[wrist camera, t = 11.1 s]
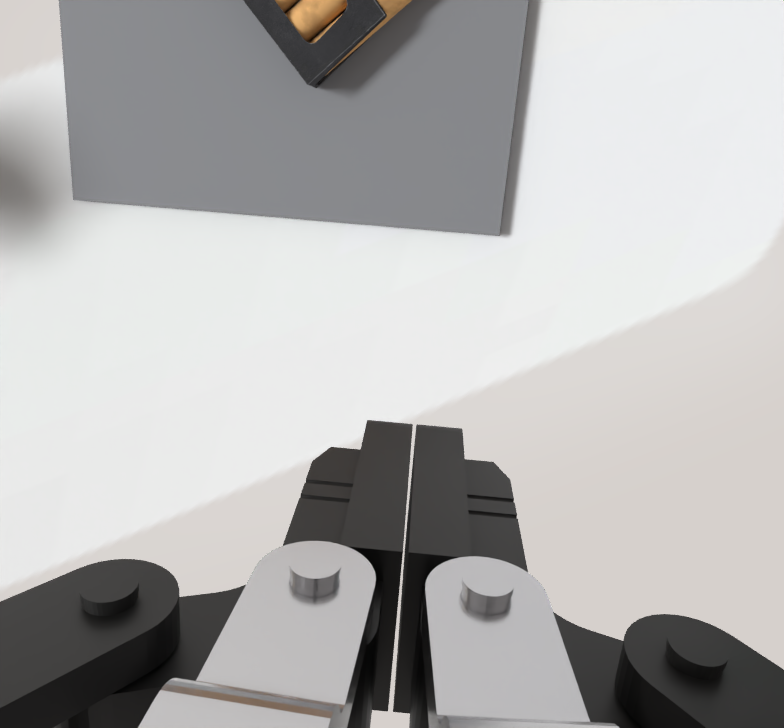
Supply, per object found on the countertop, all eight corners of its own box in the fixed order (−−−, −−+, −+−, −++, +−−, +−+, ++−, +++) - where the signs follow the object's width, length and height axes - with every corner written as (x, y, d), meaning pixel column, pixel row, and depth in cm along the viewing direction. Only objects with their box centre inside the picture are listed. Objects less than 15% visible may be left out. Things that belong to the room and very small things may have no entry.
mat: (545, -143, 35) (546, -147, 34) (498, 233, 41) (499, 235, 40) (51, -176, 36) (45, -181, 35) (78, 198, 42) (73, 199, 41)
